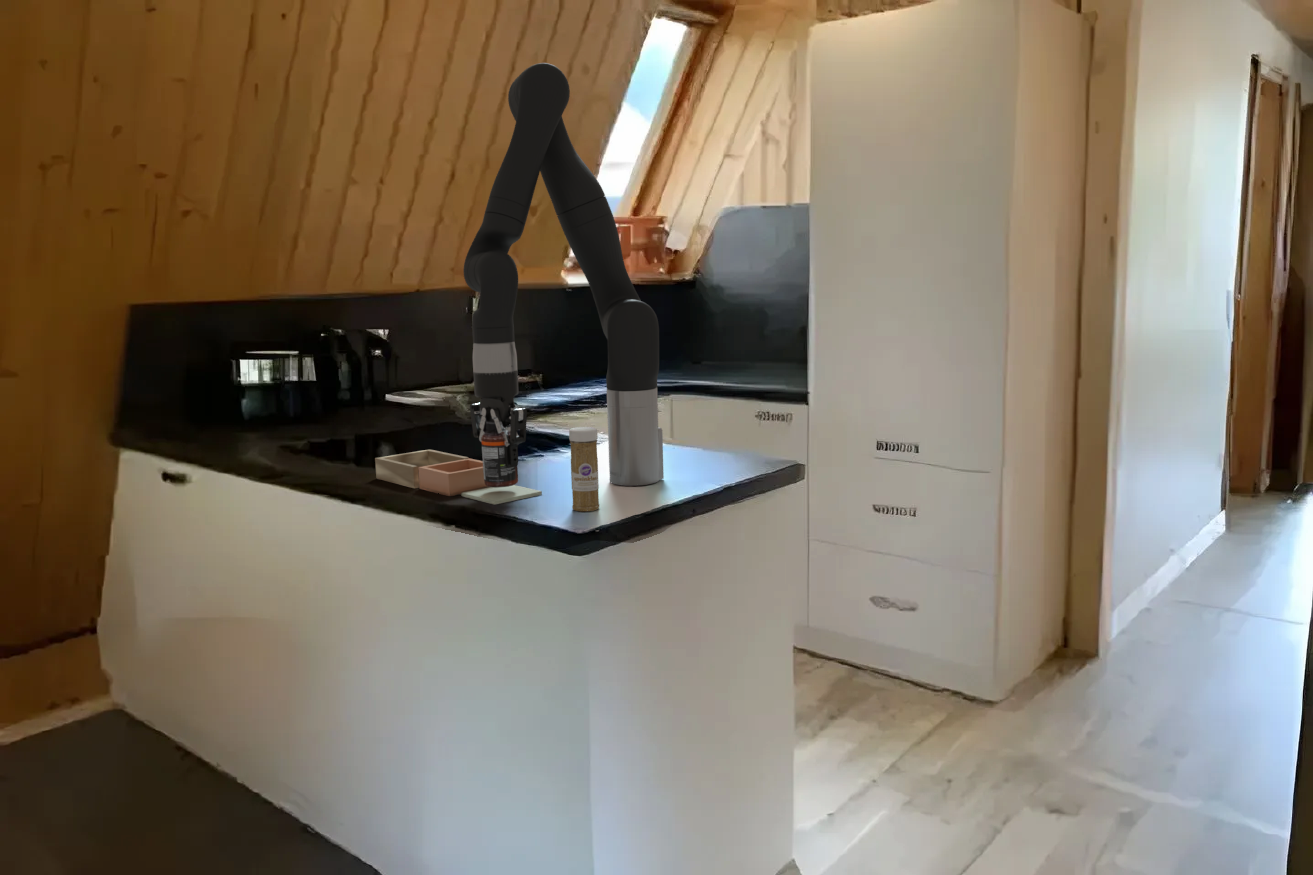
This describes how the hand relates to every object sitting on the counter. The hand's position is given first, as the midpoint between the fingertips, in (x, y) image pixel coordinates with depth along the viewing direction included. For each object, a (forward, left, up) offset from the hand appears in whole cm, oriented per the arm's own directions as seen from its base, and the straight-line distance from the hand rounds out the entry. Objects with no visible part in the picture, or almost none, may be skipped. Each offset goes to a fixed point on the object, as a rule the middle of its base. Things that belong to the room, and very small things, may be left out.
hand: (500, 464), depth 178 cm
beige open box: (+1, -25, -6) cm, 25 cm away
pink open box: (+1, -12, -6) cm, 13 cm away
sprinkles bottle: (-3, +19, -6) cm, 21 cm away
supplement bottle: (0, 0, -4) cm, 4 cm away
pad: (0, 0, -6) cm, 6 cm away
